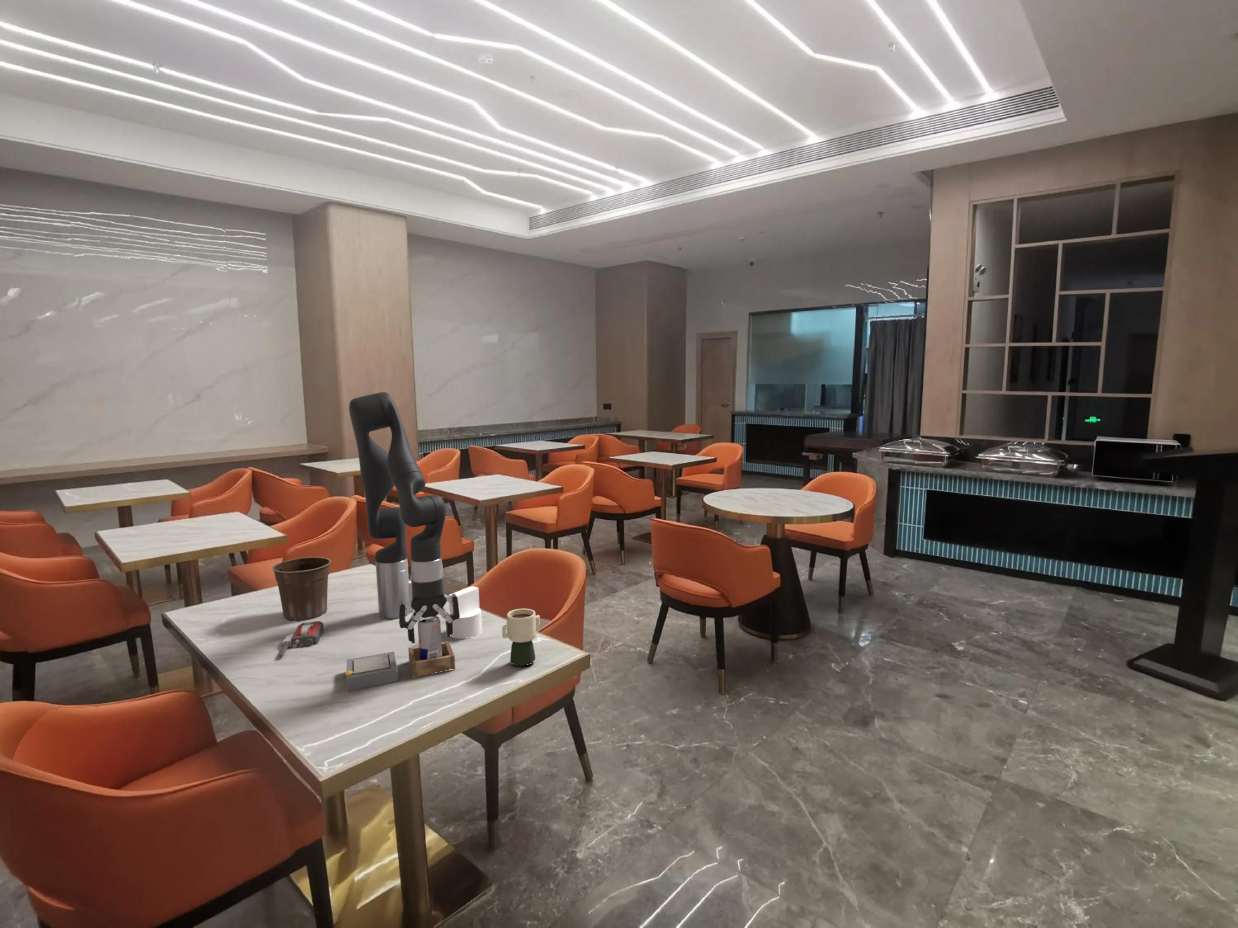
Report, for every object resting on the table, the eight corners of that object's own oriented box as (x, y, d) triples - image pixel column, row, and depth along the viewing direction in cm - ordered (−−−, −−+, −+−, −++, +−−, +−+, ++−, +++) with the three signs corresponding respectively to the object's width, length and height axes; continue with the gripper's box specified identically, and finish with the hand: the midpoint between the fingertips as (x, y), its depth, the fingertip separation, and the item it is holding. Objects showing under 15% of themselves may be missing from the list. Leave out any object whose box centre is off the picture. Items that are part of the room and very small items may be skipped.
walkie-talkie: (291, 633, 178) (276, 661, 159) (290, 618, 178) (274, 645, 159) (325, 629, 181) (313, 657, 162) (324, 614, 180) (312, 640, 161)
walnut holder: (449, 653, 161) (448, 641, 161) (455, 669, 152) (454, 655, 152) (409, 661, 157) (408, 647, 157) (412, 677, 148) (411, 663, 148)
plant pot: (343, 612, 193) (340, 562, 191) (289, 628, 181) (284, 574, 179) (321, 601, 203) (317, 553, 201) (268, 615, 191) (263, 565, 190)
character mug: (533, 652, 161) (531, 604, 160) (549, 661, 156) (547, 611, 154) (496, 665, 154) (494, 615, 152) (511, 674, 149) (509, 622, 147)
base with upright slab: (465, 640, 169) (463, 598, 168) (442, 634, 174) (440, 593, 173) (488, 629, 177) (486, 589, 176) (466, 623, 182) (464, 584, 180)
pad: (388, 659, 154) (387, 654, 154) (389, 672, 147) (389, 666, 147) (354, 665, 151) (353, 660, 151) (354, 679, 144) (353, 673, 144)
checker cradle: (394, 662, 156) (394, 649, 156) (397, 681, 146) (396, 666, 146) (346, 671, 152) (345, 657, 152) (346, 690, 142) (345, 675, 142)
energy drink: (422, 661, 157) (420, 615, 156) (444, 660, 157) (441, 614, 156) (418, 670, 152) (415, 623, 150) (440, 669, 152) (437, 622, 151)
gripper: (454, 568, 158) (457, 628, 160) (395, 575, 152) (399, 638, 155) (459, 576, 151) (462, 639, 153) (397, 584, 146) (401, 650, 148)
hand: (430, 639), depth 154 cm, fingers open, 8 cm apart
